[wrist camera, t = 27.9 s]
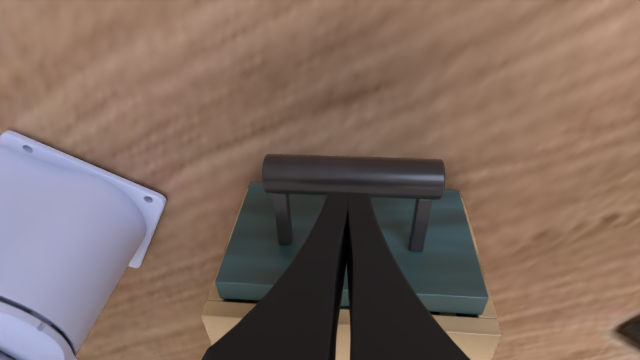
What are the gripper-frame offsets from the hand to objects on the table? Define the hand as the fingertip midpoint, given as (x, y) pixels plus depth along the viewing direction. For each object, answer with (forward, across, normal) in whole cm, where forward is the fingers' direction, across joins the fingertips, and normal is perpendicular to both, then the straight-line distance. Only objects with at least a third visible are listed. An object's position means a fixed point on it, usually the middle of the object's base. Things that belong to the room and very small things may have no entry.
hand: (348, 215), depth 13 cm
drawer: (+7, 0, +9) cm, 12 cm away
